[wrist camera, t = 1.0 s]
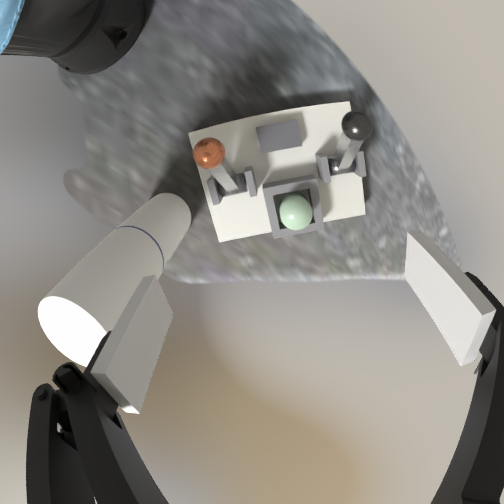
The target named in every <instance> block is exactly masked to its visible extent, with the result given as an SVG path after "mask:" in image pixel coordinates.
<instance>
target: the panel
mask: <svg viewBox="0 0 504 504" xmlns="http://www.w3.org/2000/svg"><path fill="white" fill-rule="evenodd" d="M350 111H351V107H350V102H349V101H348V102H338V103H329V104H321V105H314V106H307V107H300V108H294V109H288V110H282V111H277V112H272V113H266V114H262V115H257V116H252V117H248V118H243V119H239V120H235V121H231V122H227V123H223V124H219V125H215V126H211V127H208V128H204V129H201V130H197V131H194V132H190V133H188V134H189V138H190V142H191V146H192V149H194V147H195V145H196V144H197V143H198V142H199V141H200V140H201V139H204V138H208V137H211V138H215V139H218V140H219V141H220V142H221V143H222V144H223V145H224V148H225V158H226V159H227V161H228V162H229V164H230V165H231V167H232V168H233V170H234V172H235V173H236V174H238V173H243V172H244V174H245V178H246V182H247V187H248V192H245V193H241V194H236V195H232V196H227V197H222V195H221V193H220V190H219V185H218V181H217V180H216V179H215V178H214V176H213V175H212V174H211V173H210V172H209V171H208V170H207V169H204V168H201V167H200V166H198V165H197V167H198V171H199V174H200V178H201V181H202V185H203V188H204V192H205V195H206V199H207V202H208V206H209V209H210V212H211V216H212V219H213V222H214V226H215V229H216V232H217V236H218V239H219V242H223V241H228V240H233V239H238V238H243V237H248V236H253V235H258V234H263V233H268V232H272V234H273V239H274V238H279V237H285V236H290V235H295V234H300V233H306V232H311V231H316V230H321V229H324V223H323V222H326V221H331V220H337V219H342V218H348V217H353V216H359V215H364V214H365V205H364V194H363V185H362V177H365V176H366V168H365V160H364V152H363V151H361V150H359V151H358V153H357V154H356V156H355V158H354V162H355V172H354V173H347V174H341V175H335V176H330V171H329V165H328V159H327V156H333V155H334V154H335V151H336V148H337V145H338V142H339V139H340V136H341V133H342V127H341V122H342V118H343V117H344V115H345V114H346V113H348V112H350ZM289 193H299V194H301V195H303V196H304V197H305V198H306V200H307V201H308V203H309V205H310V207H311V209H312V220H311V222H310V223H309V225H308V226H307V227H305V228H303V229H301V230H291V229H289V228H287V227H286V226H285V225H284V224H283V223H282V221H281V217H280V211H279V204H280V201H281V199H282V198H283V197H284V196H285V195H287V194H289Z"/></svg>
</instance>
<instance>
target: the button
mask: <svg viewBox="0 0 504 504" xmlns="http://www.w3.org/2000/svg"><path fill="white" fill-rule="evenodd" d="M279 211H280V217H281V221H282V223H283V224H284V225H285V226H286V227H287V228H289V229H291V230H301V229H303V228H305V227H307V226H308V225H309V223H310V222H311V220H312V209H311V207H310V205H309V203H308V201H307V200H306V198H305V197H304V196H303V195H301V194H299V193H289V194H287V195H285V196H284V197H283V198H282V199H281V201H280V204H279Z"/></svg>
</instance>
